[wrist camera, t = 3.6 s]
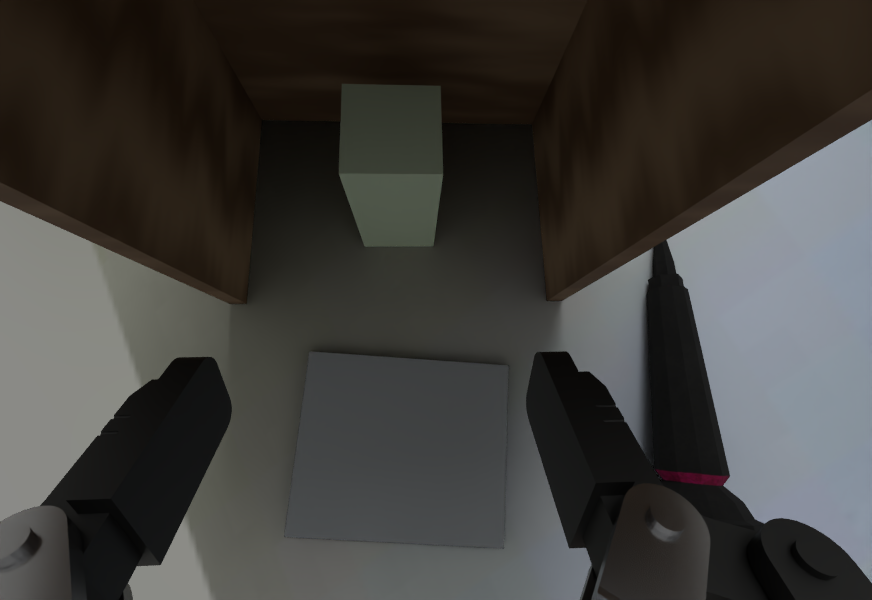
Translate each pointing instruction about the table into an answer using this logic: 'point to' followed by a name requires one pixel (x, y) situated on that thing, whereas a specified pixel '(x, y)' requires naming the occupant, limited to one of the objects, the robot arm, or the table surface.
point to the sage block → (392, 161)
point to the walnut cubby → (460, 103)
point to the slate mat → (401, 452)
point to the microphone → (685, 402)
